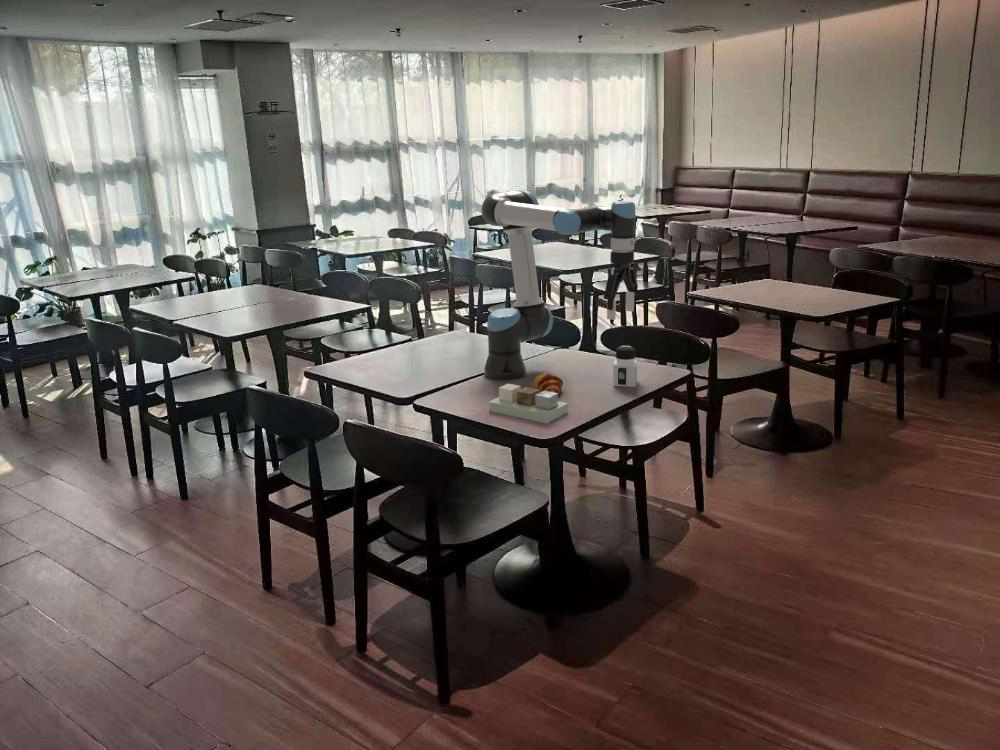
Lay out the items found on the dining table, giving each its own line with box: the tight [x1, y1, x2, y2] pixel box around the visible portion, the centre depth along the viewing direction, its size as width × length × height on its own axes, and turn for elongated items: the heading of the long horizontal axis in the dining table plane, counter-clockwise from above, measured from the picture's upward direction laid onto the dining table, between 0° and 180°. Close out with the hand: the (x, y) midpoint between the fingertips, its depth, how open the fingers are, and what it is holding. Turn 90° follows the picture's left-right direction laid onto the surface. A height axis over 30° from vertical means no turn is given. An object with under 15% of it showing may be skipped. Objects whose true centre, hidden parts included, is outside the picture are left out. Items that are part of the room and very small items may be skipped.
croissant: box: [532, 372, 564, 395], centre depth 274 cm, size 21×10×8 cm, turn 8°
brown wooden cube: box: [517, 386, 539, 407], centre depth 254 cm, size 5×5×5 cm
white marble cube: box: [535, 391, 559, 411], centre depth 250 cm, size 5×5×5 cm
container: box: [612, 345, 638, 388], centre depth 279 cm, size 8×8×13 cm
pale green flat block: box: [488, 396, 569, 424], centre depth 255 cm, size 22×12×3 cm, turn 54°
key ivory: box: [498, 383, 522, 403], centre depth 258 cm, size 5×5×5 cm
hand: (620, 315), depth 266 cm, fingers open, 13 cm apart
